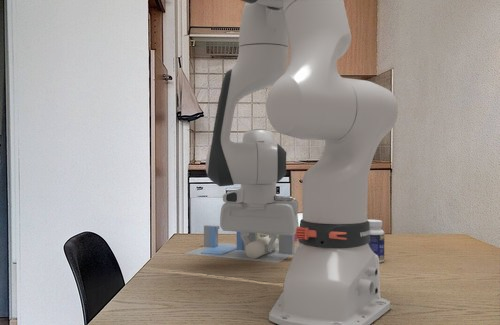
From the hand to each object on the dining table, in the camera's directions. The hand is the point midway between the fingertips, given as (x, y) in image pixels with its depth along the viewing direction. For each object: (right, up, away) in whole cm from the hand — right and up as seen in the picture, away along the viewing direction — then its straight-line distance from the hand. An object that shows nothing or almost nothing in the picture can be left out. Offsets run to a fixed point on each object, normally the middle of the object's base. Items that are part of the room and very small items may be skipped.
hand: (258, 250), depth 114 cm
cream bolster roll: (+1, -1, +2) cm, 3 cm away
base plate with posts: (-4, -2, +6) cm, 8 cm away
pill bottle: (+28, -2, -2) cm, 28 cm away
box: (+6, -2, +23) cm, 23 cm away
